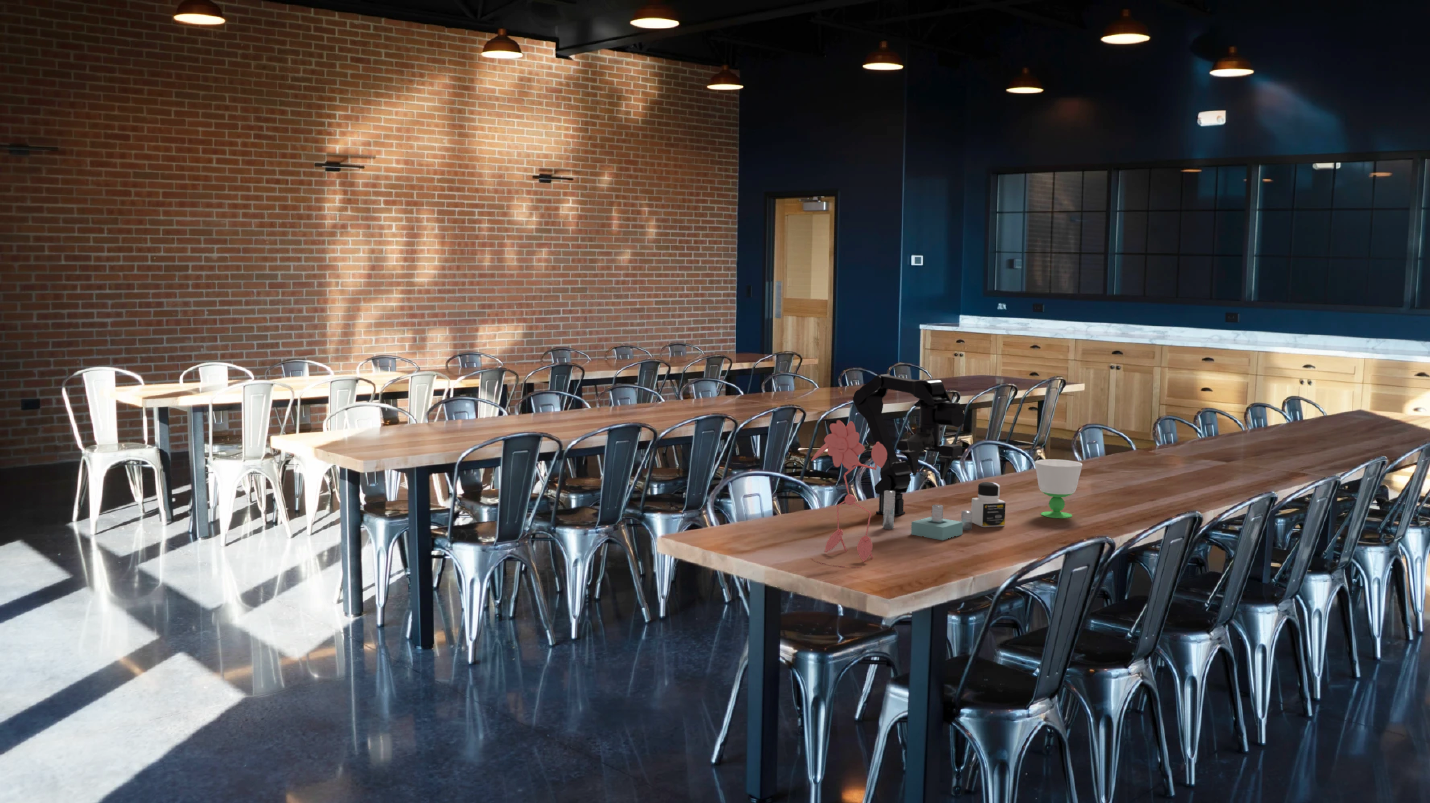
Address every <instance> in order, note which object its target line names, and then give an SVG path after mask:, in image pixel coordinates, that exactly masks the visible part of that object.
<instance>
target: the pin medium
mask: <svg viewBox="0 0 1430 803" xmlns="http://www.w3.org/2000/svg"><path fill="white" fill-rule="evenodd" d="M931 517H932V523H935V524H943V519H944V505H942V504H932V505H931Z"/></svg>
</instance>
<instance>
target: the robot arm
mask: <svg viewBox="0 0 1430 803" xmlns="http://www.w3.org/2000/svg"><path fill="white" fill-rule="evenodd" d="M889 390H892V391H897V392H902V393H908V394H910V395H912V397H914V398H916V399H918V400H917V401H916V402H915V403H914V404H913V405H914V407H915V408H919V426H916V429H915V431H916V432H915V434H912V435H911V436H910V437H909V438H904V439H899V440H898V441H897V443H896V451H900V453H901V454H903V455H904V457H906V459H907V461H908V462H907V461H905V460H904V461H901V460H900V459H899V457H898V455H897V453H896V451H895V447H894V445H893V444H894V443H892V442H893V441H892V439H891V437H890V433H889V430H888V428H887V425H886V422H885V420H884V416H883V408H884V402H883V399H884V398H885V397H886V396H887V393H888V391H889ZM852 402H853V405H854V406H855V408H856V411H857V412H858V413H859V414H860V415H861V416H862V417H863V418H864V419H865V420H866V423H867V426H868V429H869V432H870V435H871V437H872V441H873V443H874V445H875V444H876V442H879V443H880V444H883V446H884V447H885V448H886V451H887V460H886V462H885V464H884V465H883V467H882V468H880V470H879V474H880V475H879V476H880V479H879V481H878V482H876V485H874V492H875V495H879V496H878V499H879V500H878V502H879V503H878V510H877V511H875V513H876V514H877V515H883V511H884V491H886V490H891V491H895V506H894V517H896V516H900V515H904V514H906V511H904V504H905V503H904V502H905V501H904V498H903V496H904V495H903V494H906V493H907V491H908V488H909V486H910V484H911V481H912V477H911V475H912V476H917V473H918V466H919V460H920V459H919V457H920V453H922V452H925V451H928V452H936V453H939V454H940V456H938V459H939V460H940V461H939V462H940V467H939V478H940V480H944V479H945V477H946V475H947V473H948V471H949V469H950V467H951V464H953V462H954V460H955V459H956V458H959V457H960V456H962V455H963V448H962V446H961V445H960V444H953V443H948V444H943V443H942V442H943V441H942V440H940V437H941V436H940V431H943V427H942V426H946V427H954V428H960V427H962V425H963V424H964V421H965V418H966V417H965V416H966V415H965V412H964V409H963V408H962V407H961V403H960V402H953V401H952V400H951V398H950V396H949V394H948V392H947V390H946V388H945V386H944V383H943V381H942V380H941V379H937V378H936V379H923V380H917V379H913V378H912V379H911V378H906V377H901V376H895V375H890V374H888V373H884V374H877V375H875V376H873V378H872V379H871V380H870V381H868V382H866V383H865V384H864V385H862V386H861V387H860V388H859V389H857V390H856V391H855V392H854V394H853V397H852ZM908 464H909V465H908ZM909 467H910V469H909ZM910 470H911V471H910Z"/></svg>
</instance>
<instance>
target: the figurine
mask: <svg viewBox="0 0 1430 803" xmlns="http://www.w3.org/2000/svg"><path fill="white" fill-rule="evenodd" d="M829 430H830V432H831V433H829V434H827V435H826V436H825V437H824V439H823V440H824V443H825V444H822V445H821V447H820V448H819V449H817V451H816V452H815V453H814V455H813V456H812V458H811V460H810V461H811V462H812V461H815V460H816V459H817V458H819V457H820V456H821V455H822V454H824V452H825V451H826V450H827V455H828V456H829V457H832V462H833V466H834V467H835V468H839V467H841V465H843V468H846V469H847V471H846V472H844V475H843V479H844V483H845V487H846V492H847V495H846V496H845V497H844V500H843V501H842V502H840V503H839V504H837V505H836V513H837V515H836V516H837V518H836V519H837V530H835V531H834V532H833V533H832V534H831V535H830V536H829V538H828V540H827V541H826V544H825V549H824V553H827V552H830V551H831V550H833V549H834V548H835V547H837V546H838V545H839V543H840V542H841V544H842V545H841V546H842V548H843V550H844V552H848V550H847V548H846V544H845V542H844V539H843V535H844V531H843V529H840V521H839V519H840V516H839V514H840V513H839V507H840V506H842V505H843V504H846V505H848V506H853V505H854V506H857V507H859V508H861V509H862V510H864V511H866V512H868V513H869V514H868V520H867V526H866V532H865V535H863V536H861V537H860V539H859V541H858V542H857V547H856V548H857V554H858V555H859V557H860V559H861V560H862V561H863V562H864V563H865V561H866V560H868V558H869V557H870V558H871V559H873V558H874V556H873V553H872V551H873V542H872V540H871V538H870V537H869V536H868V532H869V526H870V522H871V517H872V513H871V512H872V511H870V510H869V509H866V508H864V507H863V506H861V505H860V504H858V503H856V501H857V500H856V496H854V495H853V494H850V491H849V485H848V480H847V475H848V474H849V473H851V472H852V471H853V470H854V469H856V468H857V467H863V468H866V469H870V470H874V471H877V468H878V467H879V468H880V469H881V468H882V467H883V465H884V464H885V462H886V460H887V451H886V448H885V447H884V446H883V444H880V443H879V442H876V444H875V443H874V445H873V446H872V449H871V459H872V461H873V463H874V467H873V466H870V465H866V464H863V463H861V461H860V459H859V457H858V456H860V455H861V454H863V453H864V452H865V445H863V444H862V443H861V442H859V441H860V433H859V432H858V431H857V430H856V426H855V423H854V422H853V421H851V420H849V422H848V423H847V425H845V424H844V422H843V421H841V420H840V419H837V420H836V423H834V422H833V423H830V425H829ZM811 560H812V561H813V560H814V559H813V558H811ZM818 562H819V564H820V565H824V564H825V563H823V562H820V561H818ZM821 563H822V564H821ZM832 565H833V566H832V567H835V565H834V564H832ZM837 566H838V567H839V568H844V566H842V565H841V566H839V565H837ZM850 567H851V568H852V569H856V568H857V569H858V568H859V569H861V568H863V567H862V566H850Z"/></svg>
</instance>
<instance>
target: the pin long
mask: <svg viewBox="0 0 1430 803" xmlns="http://www.w3.org/2000/svg"><path fill="white" fill-rule="evenodd" d="M894 506H895V491H891V490H886V491H884V511H883V514H882V515H883V517H882V529H884V530H894V529H893V528H894V527H895V526H894V523H895V516H894Z"/></svg>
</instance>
